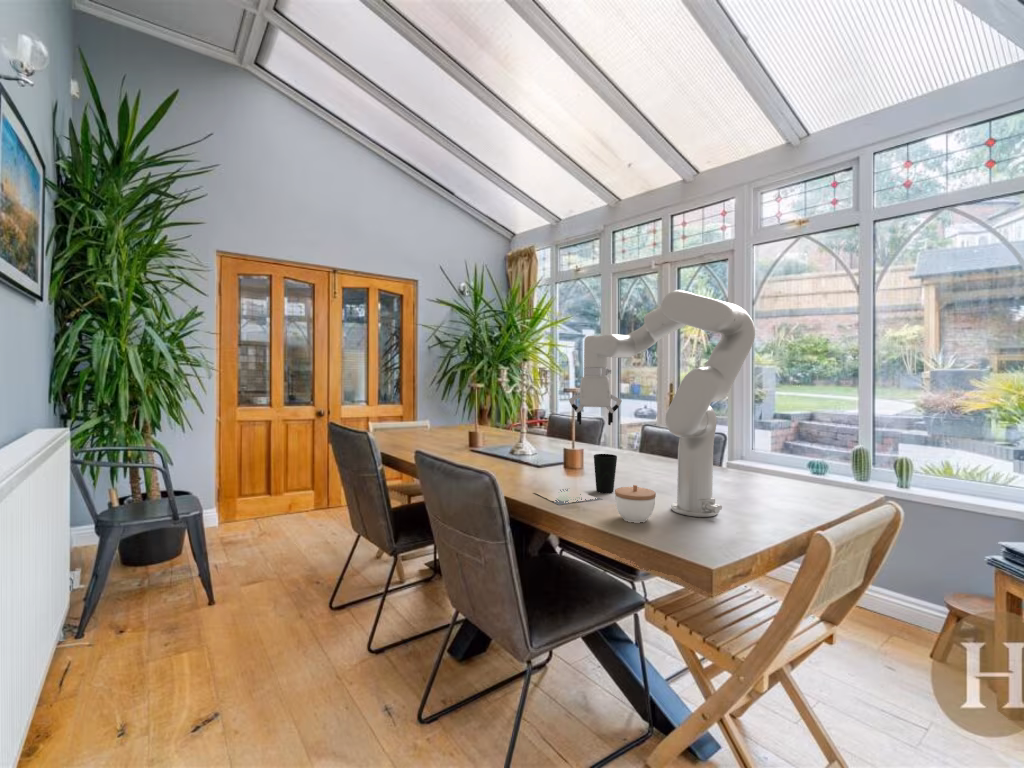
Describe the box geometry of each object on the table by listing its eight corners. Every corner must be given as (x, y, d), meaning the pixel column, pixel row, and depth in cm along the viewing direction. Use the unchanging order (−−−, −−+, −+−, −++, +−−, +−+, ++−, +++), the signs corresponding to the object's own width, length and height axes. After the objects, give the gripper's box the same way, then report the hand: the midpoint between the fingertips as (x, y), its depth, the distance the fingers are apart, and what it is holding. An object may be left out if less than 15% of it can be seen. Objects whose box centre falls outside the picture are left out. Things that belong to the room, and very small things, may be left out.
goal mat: (602, 499, 157) (602, 498, 157) (558, 505, 150) (558, 504, 150) (573, 488, 171) (573, 487, 171) (532, 493, 164) (532, 492, 164)
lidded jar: (632, 528, 129) (633, 491, 128) (606, 517, 138) (606, 483, 138) (663, 522, 134) (664, 487, 133) (636, 512, 143) (637, 479, 143)
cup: (618, 494, 163) (619, 457, 163) (595, 494, 163) (595, 457, 163) (614, 488, 171) (614, 453, 171) (591, 488, 171) (592, 453, 171)
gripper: (621, 373, 169) (620, 423, 169) (569, 372, 172) (569, 422, 172) (622, 373, 161) (621, 426, 162) (568, 372, 164) (568, 425, 165)
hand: (594, 424), depth 167 cm, fingers open, 9 cm apart
